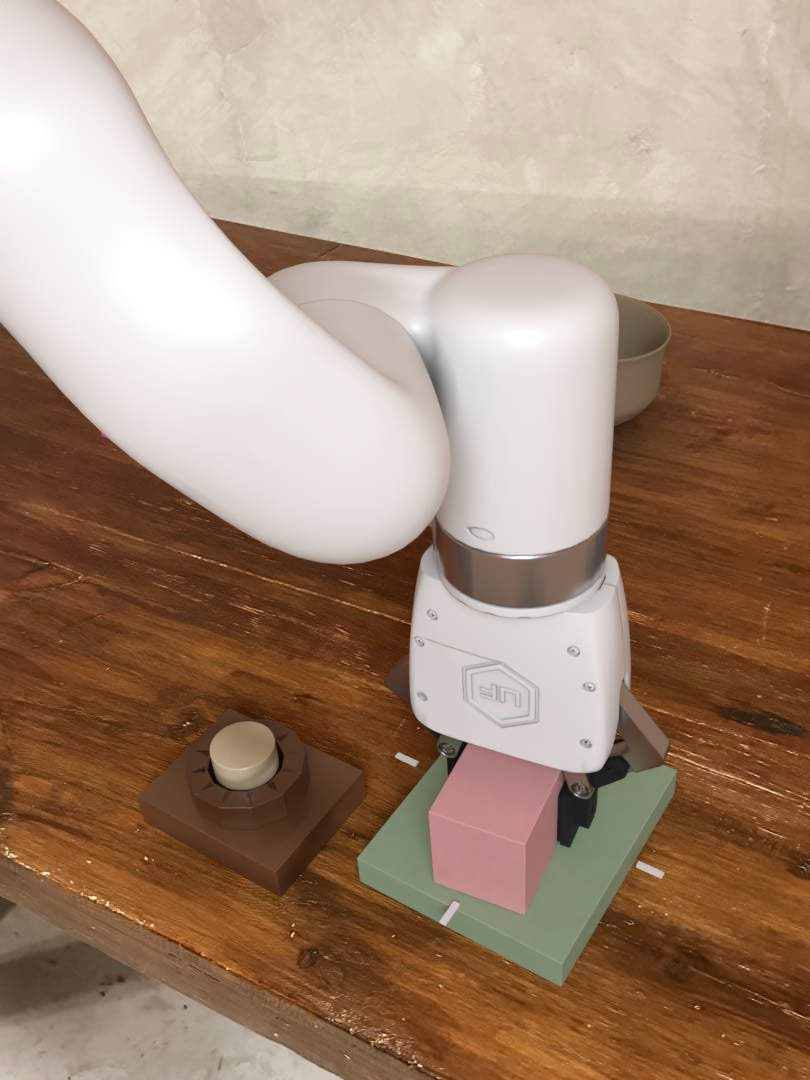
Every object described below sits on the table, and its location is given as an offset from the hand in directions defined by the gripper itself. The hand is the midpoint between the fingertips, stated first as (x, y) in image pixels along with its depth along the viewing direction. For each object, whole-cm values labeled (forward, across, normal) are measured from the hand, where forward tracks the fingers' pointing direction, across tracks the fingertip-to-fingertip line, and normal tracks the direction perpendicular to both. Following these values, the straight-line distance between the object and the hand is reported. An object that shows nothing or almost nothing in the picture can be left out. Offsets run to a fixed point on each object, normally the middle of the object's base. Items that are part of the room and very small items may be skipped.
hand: (521, 807), depth 60 cm
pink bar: (0, 0, 0) cm, 0 cm away
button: (-1, -15, -4) cm, 15 cm away
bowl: (+3, -10, +43) cm, 44 cm away
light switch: (+2, -15, -4) cm, 15 cm away
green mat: (+2, 0, 0) cm, 2 cm away
